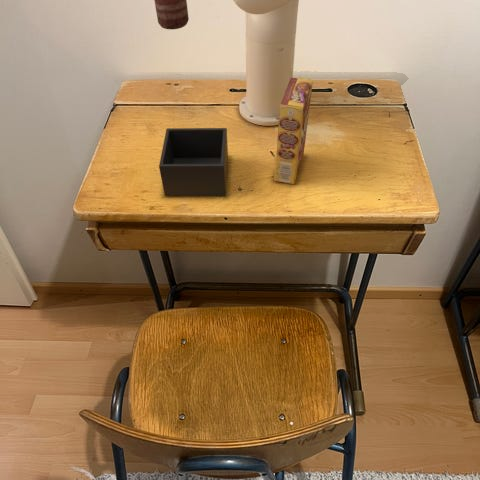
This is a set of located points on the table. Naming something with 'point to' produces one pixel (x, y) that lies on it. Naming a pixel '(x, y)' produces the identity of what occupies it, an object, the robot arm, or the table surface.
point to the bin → (194, 162)
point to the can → (172, 13)
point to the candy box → (292, 129)
